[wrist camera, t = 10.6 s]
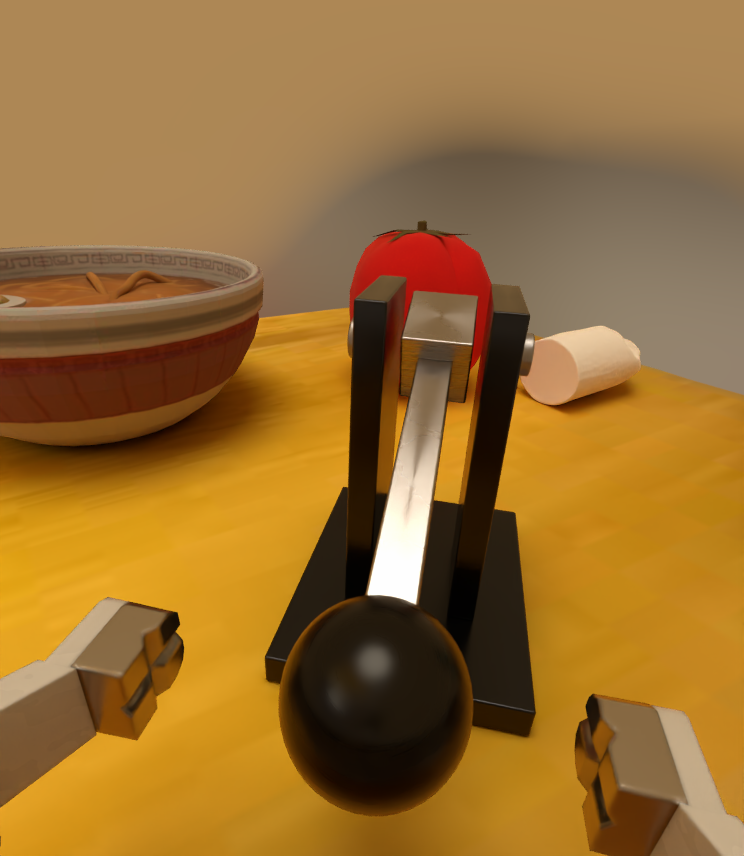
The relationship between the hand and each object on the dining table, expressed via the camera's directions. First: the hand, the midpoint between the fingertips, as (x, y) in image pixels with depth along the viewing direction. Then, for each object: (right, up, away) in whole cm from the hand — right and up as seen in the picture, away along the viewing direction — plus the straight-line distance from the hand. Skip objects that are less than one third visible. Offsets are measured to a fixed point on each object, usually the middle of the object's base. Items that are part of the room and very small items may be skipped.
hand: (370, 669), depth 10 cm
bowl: (-19, +6, +27) cm, 33 cm away
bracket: (+2, -2, +12) cm, 12 cm away
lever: (+1, +2, +4) cm, 5 cm away
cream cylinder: (+19, +8, +35) cm, 40 cm away
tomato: (+4, +9, +34) cm, 36 cm away
